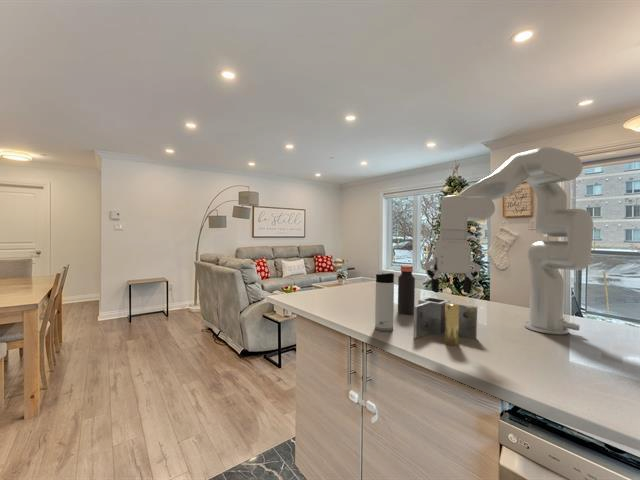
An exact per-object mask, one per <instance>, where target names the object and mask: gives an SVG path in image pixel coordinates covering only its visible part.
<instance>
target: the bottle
mask: <svg viewBox="0 0 640 480" xmlns="http://www.w3.org/2000/svg"><path fill="white" fill-rule="evenodd" d="M413 268H414V267H413V265H408V264H407V265H405V264H404V265H400V272H401V274H400V275H399V276H398V277H397V278H398V280H397V312H398V313H399V314H402V315H406V316H407V315H414V306H415V292H416V291H415V289H416V281H415V280H416V278H415V276H414V275H413V271H414V269H413Z"/></svg>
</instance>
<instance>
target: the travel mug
mask: <svg viewBox="0 0 640 480" xmlns="http://www.w3.org/2000/svg"><path fill="white" fill-rule="evenodd" d="M394 293H395V274H394V273H393V272H391V273H389V272H388V273H381V274H379V273H376V274H375V309H374V310H375V311H374V313H375V315H374V316H375V317H374V326H375V327H374V328H375V330H377V331H379V332H384V333H385V332H392V331H393V330H394V309H395V308H394V304H395V303H394V302H395V301H394V299H395V298H394V297H395V294H394Z"/></svg>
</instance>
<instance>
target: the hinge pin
mask: <svg viewBox="0 0 640 480" xmlns="http://www.w3.org/2000/svg"><path fill="white" fill-rule="evenodd" d="M454 303H455V302H450V303H446V304H445V332H443V333H444V340H443V341H444V343H443V344H445V345H447V346H451V345H452V346H453V347H455V346H456V347H457V346H459V343H460V341H459V339H460V337H459V336H460V335H459V305H458V304H459V303H456V304H454ZM452 346H451V347H452Z"/></svg>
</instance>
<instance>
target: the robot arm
mask: <svg viewBox="0 0 640 480" xmlns="http://www.w3.org/2000/svg"><path fill="white" fill-rule="evenodd" d="M583 165H584V164H583V162H582V159H581V158H580V157H579V156H578V155H576V154H574V153H572V152H569V151H565V150H562V149H558V148H555V147H550V146H543V147H541V146H540V147H537V148H534V149H529V150H526V151H522V152H519V153H515V154H514V155H512V156H511V157H510V158H509V159H507V160H506V161H505V162H504V163H503V164H502V165H501V166H499V167H498V168H497V169H496V170H495V171H494V172H493V173H491V174H490V175H489V176H487V177H484V178H482V179H481V180H479V181H477V182H476V183H473V184H472V185H470V186H468V187H467V188H465V189H463V190H462V191H461V192H460V193H458V194H451V195H450V194H449V195H445V196H444V197H442V199H441V201H440V221H439V222H440V223H439V225H440V227H439V240H436V242H435V247H434V253H433V258H432V259H431V260H428V261H427V262H425V263H423V269H424V271H425V273H426V274H427V275H428V276H429V277H430V278H431V283H430V288H431V290H432V292H434V293H439V289H440V286H439V285H440V280H439V279H438V278H439V277H440V276H441V275H442V274H450V275H451V274H455V275H462V276H463V277H464V279H463V283H462V284H463V286H462V287H463V288H462V290H463V293H466V294H469V295H470V294H471V291H472V288H473V284H472V283H473V281H474V279H475V278H476V277H477V276H478V275H479V272H480V270H481V269H482V266H481V265H480V264H478V263H476V262H475V261H473V260H472V255H471V248H470V247H471V246H470V242H469V241H468V238H471V237H472V234H471V232H470V233H469V232H468V222H481V221H482V222H483V221H486V220H489V219H490V218H491V217H492V216H493V215H494V213H495V211H496V205H495V203H494V201H495V200H498V199H500V198H504V197H506V196H509V195H510V194H511V193H513V192H514V191H515V190H516V189H517V188H518V187H519V186H520V185H522V183H524V182H526V184H528V186H530V188H531V189H532V191H534V194H535V197H536V210H535V211H536V212H535V222H534V223H535V225H534V226H535V231H536V233H537V234H538V235H539V236H541V237H546V238H567V241H566V240H565V241H562V240H539V241H536V242H532V244H531V245H530V246H529V247H528V249H527V257H528V263H529V269H530V288H529V292H530V293H529V294H530V295H529V320H528V321H525V322H523V323H524V325H523V326H524V328H527V329H528V330H531V331H533V332H537V333H541V334H548V335H557V336H558V335H566V334H569V330H573V331H578V332H579V331H580V327H581V326H580V324H577V323H575V322H574V323H573V322H568V321H566V318H565V317H564V295H565V294H564V292H565V291H564V288H565V283H564V282H565V281H564V278H563V276H562V274H561V273H560V270H565V271H566V270H567V271H581V270H582V271H583V270H585V269H586V268H587V267H588V266H589V264H590V261H591V257H592V248H593V247H592V246H593V234H594V221H593V217H592V216H591V214H590V213H589V211H587V210H586V209H583V208H567V205H568V204H567V203H568V197H567V193H566V191H565V190H564V188H562V187H561V185H560V184H559V183H562V182H564V183H565V182H569V181H574V180H576V179H577V178H579V176H580V175H581V174H582V173H583V172H582V171H583V168H584V167H583ZM431 266H432V269H431V268H430V267H431ZM472 267H473V270H471V269H472Z"/></svg>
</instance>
